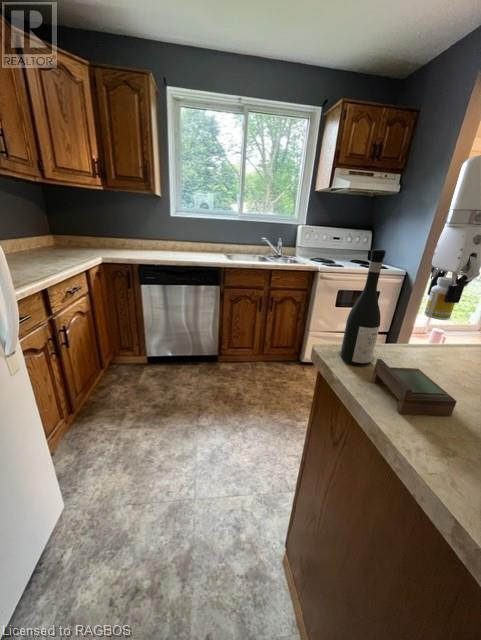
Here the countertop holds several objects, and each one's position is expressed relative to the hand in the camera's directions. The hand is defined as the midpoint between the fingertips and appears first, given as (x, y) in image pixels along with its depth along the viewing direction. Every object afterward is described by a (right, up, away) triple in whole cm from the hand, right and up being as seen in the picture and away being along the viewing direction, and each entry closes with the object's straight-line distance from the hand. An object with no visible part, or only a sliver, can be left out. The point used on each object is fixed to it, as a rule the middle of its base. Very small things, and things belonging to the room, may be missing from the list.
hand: (442, 298), depth 66 cm
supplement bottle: (0, -5, +2) cm, 5 cm away
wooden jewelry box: (-14, -23, -8) cm, 28 cm away
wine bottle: (-18, -17, +9) cm, 26 cm away
